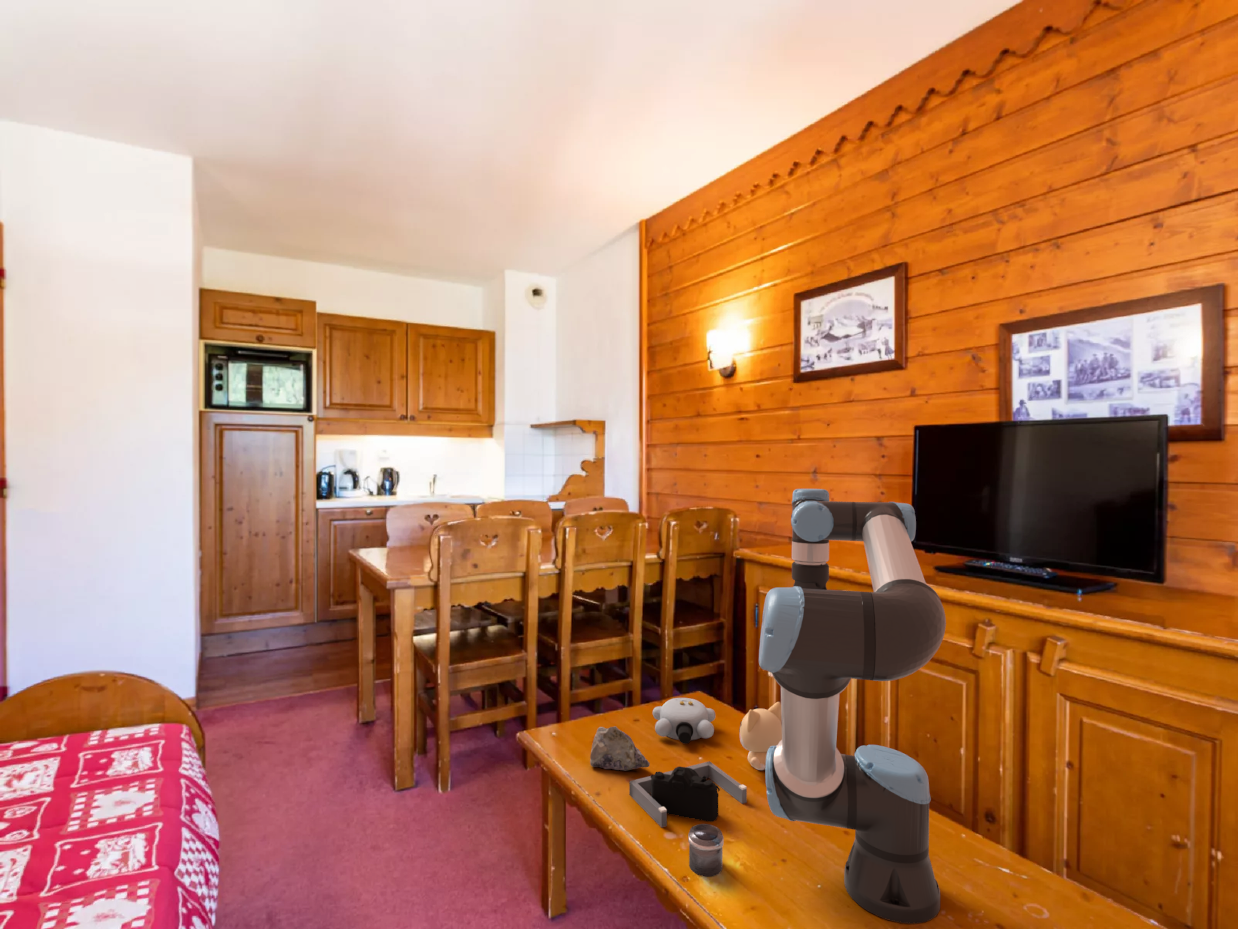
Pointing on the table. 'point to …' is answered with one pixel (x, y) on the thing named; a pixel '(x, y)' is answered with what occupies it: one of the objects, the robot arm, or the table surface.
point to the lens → (705, 850)
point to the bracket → (643, 786)
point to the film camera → (686, 794)
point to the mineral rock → (615, 751)
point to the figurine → (684, 720)
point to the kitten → (761, 733)
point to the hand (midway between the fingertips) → (809, 673)
